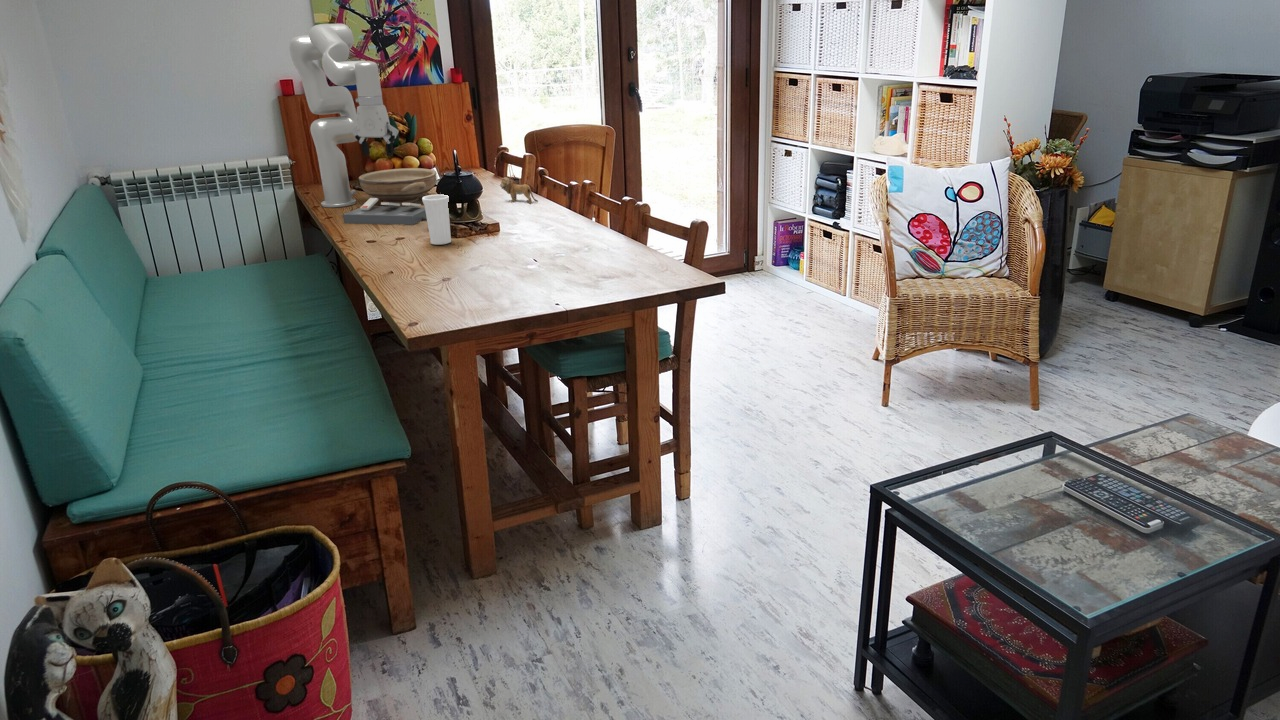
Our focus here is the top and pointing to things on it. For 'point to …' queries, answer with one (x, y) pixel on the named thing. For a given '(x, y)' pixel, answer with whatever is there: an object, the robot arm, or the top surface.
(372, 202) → the far-end rocker
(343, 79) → the robot arm
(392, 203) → the middle rocker
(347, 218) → the grey switch panel
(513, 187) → the lion figurine
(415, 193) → the ceramic bowl
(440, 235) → the cup
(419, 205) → the block
